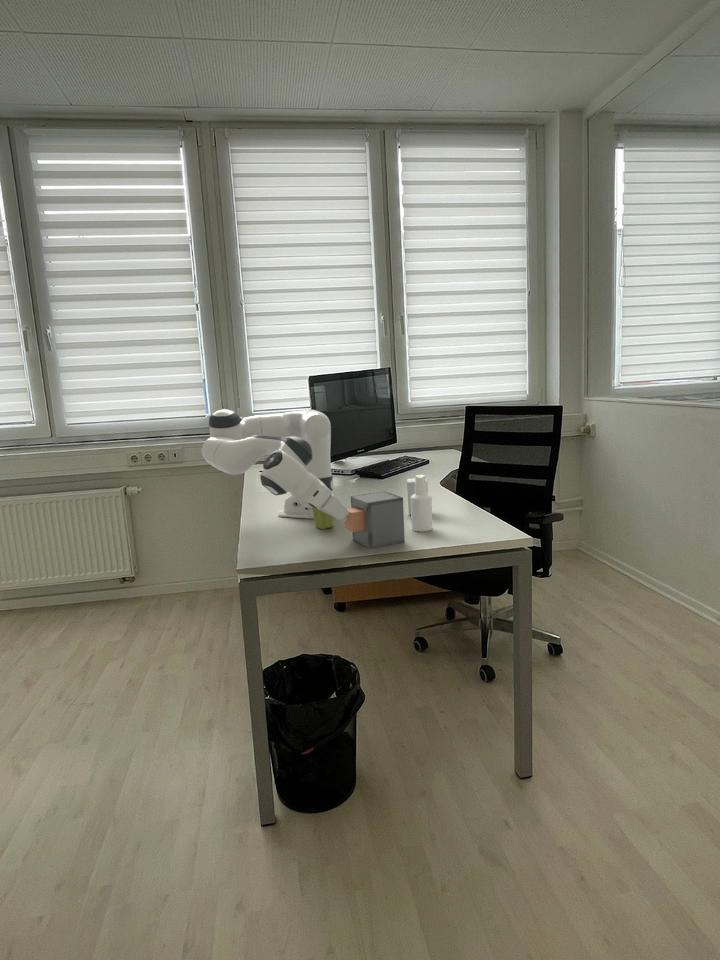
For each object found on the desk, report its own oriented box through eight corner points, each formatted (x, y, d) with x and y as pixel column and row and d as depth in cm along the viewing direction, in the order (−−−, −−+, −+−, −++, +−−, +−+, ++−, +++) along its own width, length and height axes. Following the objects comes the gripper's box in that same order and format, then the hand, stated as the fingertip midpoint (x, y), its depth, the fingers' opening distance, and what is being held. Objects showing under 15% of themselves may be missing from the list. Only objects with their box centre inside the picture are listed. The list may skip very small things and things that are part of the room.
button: (352, 532, 178) (351, 512, 177) (344, 528, 183) (343, 509, 182) (367, 529, 180) (366, 510, 179) (359, 525, 185) (358, 506, 184)
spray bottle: (433, 526, 199) (431, 473, 196) (431, 532, 192) (429, 477, 189) (413, 526, 200) (411, 474, 197) (410, 531, 194) (408, 477, 191)
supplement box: (428, 510, 222) (427, 477, 219) (428, 515, 214) (427, 481, 212) (408, 511, 222) (407, 478, 220) (408, 516, 215) (406, 481, 213)
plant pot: (340, 523, 210) (339, 499, 208) (335, 530, 201) (333, 505, 199) (315, 523, 211) (313, 499, 210) (308, 530, 202) (306, 505, 201)
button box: (369, 548, 178) (367, 502, 175) (353, 539, 189) (350, 496, 186) (404, 542, 183) (402, 497, 180) (386, 533, 193) (384, 491, 191)
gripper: (293, 495, 182) (324, 521, 188) (317, 507, 164) (351, 535, 170) (305, 479, 183) (336, 505, 189) (331, 489, 165) (364, 518, 171)
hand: (343, 520), depth 179 cm, fingers closed
